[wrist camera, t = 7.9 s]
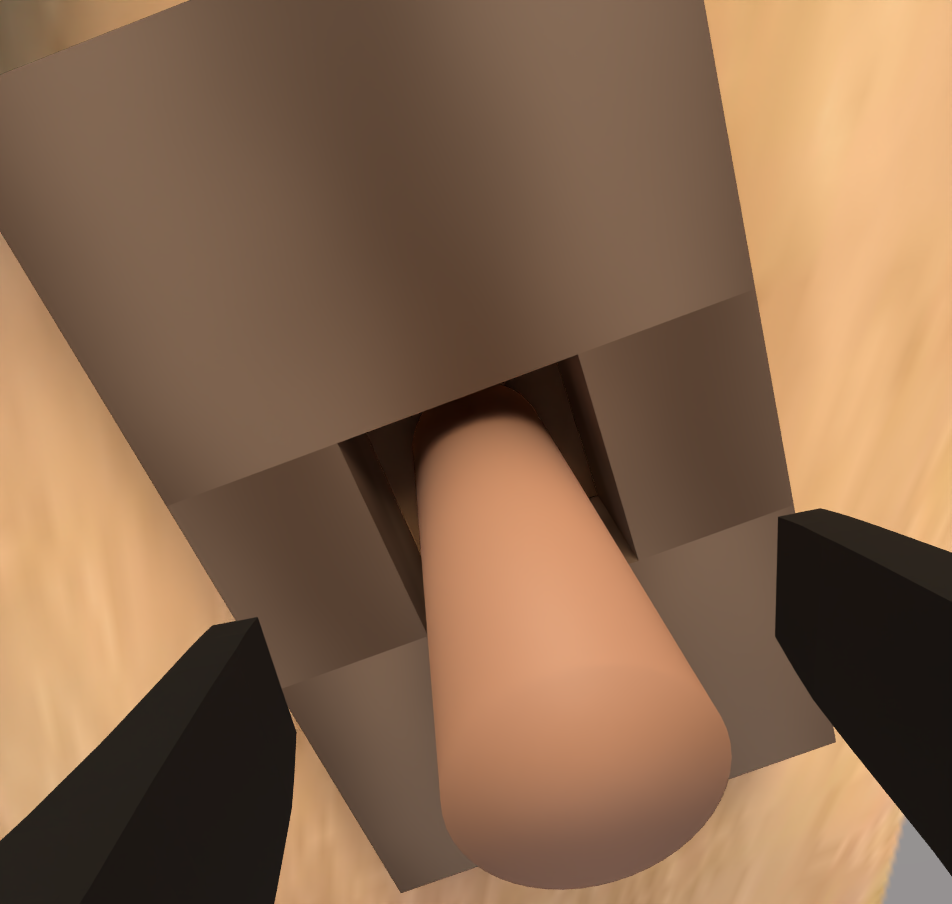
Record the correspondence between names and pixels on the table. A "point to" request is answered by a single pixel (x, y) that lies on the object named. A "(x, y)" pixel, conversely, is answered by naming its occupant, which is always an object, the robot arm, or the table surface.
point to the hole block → (414, 325)
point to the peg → (549, 664)
